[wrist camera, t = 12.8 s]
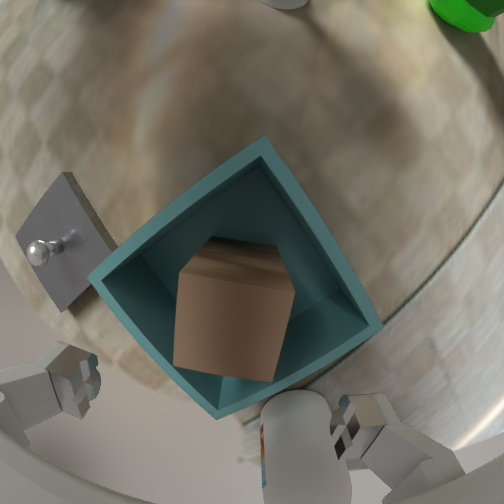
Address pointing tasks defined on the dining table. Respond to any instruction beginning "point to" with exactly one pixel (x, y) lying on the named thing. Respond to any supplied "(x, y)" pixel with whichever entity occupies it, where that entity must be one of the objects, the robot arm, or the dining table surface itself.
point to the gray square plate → (64, 241)
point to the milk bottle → (301, 452)
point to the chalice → (285, 3)
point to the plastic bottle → (468, 13)
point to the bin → (250, 230)
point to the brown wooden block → (232, 310)
